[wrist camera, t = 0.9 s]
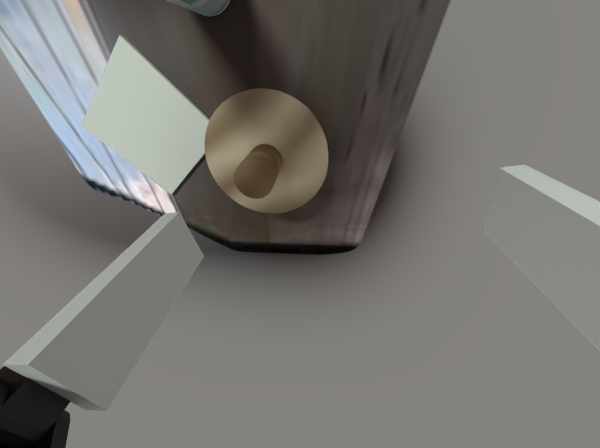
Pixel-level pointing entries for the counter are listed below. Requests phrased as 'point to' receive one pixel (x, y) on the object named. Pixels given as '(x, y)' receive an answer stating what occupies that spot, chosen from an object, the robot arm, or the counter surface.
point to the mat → (146, 118)
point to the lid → (266, 150)
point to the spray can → (203, 6)
